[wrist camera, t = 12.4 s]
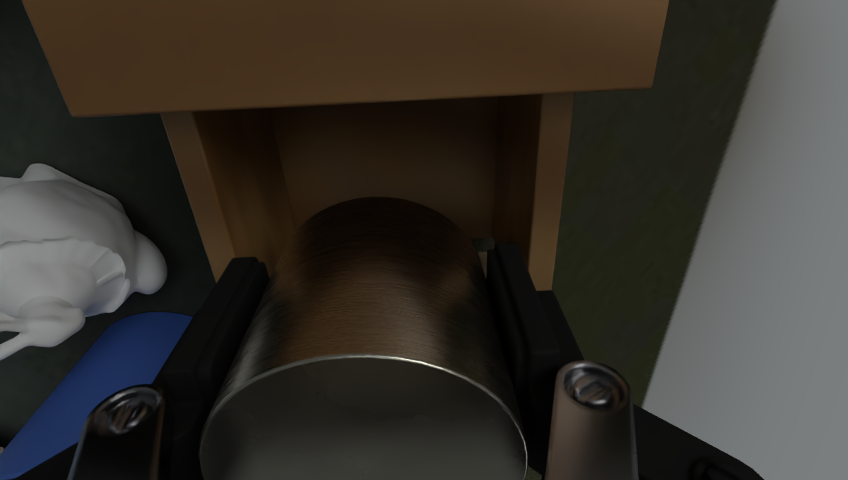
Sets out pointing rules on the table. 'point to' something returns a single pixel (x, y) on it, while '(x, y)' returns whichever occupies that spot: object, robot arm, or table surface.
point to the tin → (370, 359)
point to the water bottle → (94, 386)
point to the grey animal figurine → (66, 257)
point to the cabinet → (338, 51)
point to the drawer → (377, 169)
